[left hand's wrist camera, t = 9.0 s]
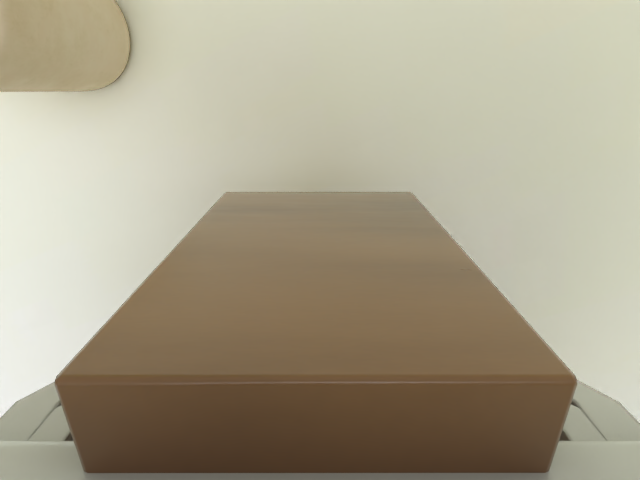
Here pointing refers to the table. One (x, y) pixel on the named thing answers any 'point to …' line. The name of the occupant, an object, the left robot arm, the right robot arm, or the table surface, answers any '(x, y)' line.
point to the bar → (316, 351)
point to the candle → (61, 45)
